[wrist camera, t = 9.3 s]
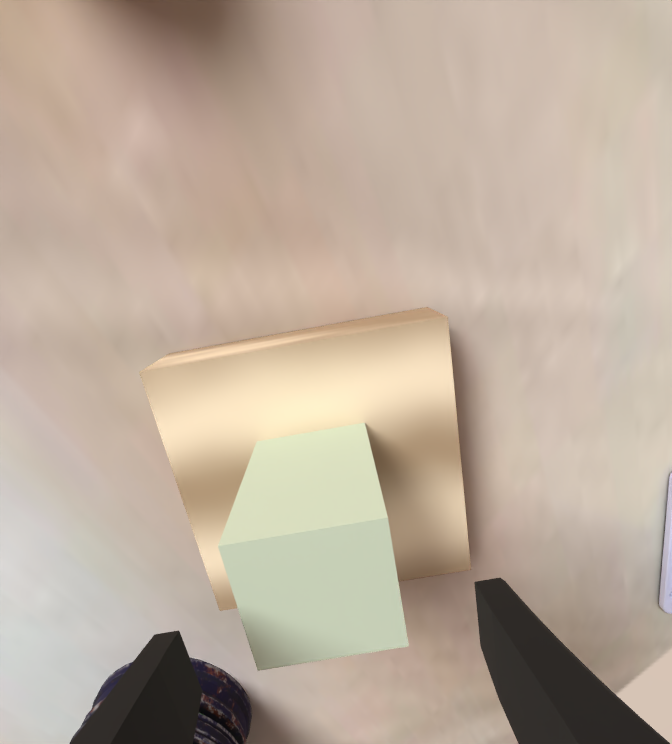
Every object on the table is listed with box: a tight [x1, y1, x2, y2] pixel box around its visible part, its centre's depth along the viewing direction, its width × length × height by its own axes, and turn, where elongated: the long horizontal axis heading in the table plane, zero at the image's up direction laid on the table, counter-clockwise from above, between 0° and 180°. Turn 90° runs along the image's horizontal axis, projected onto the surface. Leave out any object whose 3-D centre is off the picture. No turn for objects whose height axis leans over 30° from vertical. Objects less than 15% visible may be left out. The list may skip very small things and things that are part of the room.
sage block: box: [218, 423, 409, 670], centre depth 14 cm, size 4×4×6 cm
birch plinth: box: [139, 307, 471, 611], centre depth 18 cm, size 12×12×3 cm
